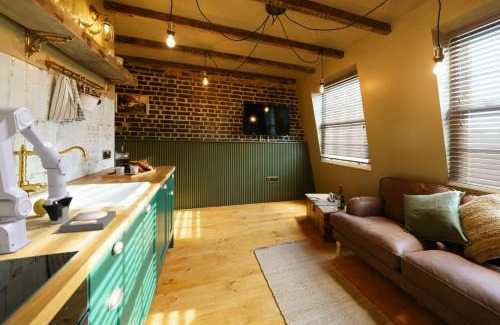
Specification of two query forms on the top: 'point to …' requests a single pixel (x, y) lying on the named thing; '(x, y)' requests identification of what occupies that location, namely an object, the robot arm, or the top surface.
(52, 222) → the block
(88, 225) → the scale
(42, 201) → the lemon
